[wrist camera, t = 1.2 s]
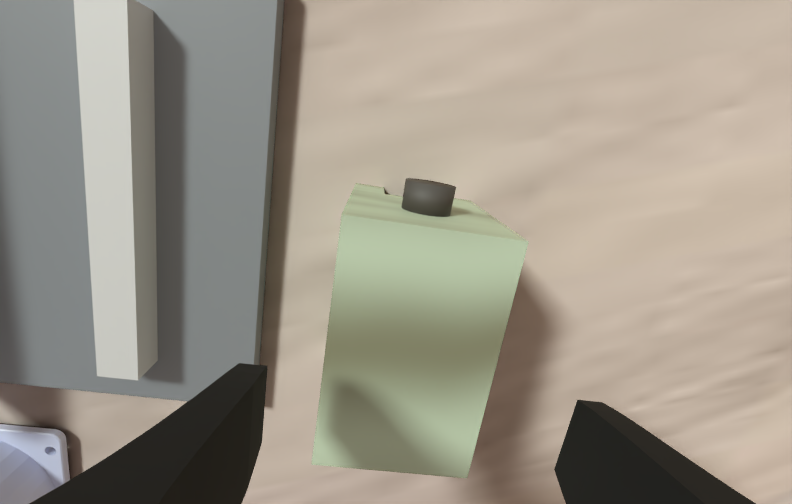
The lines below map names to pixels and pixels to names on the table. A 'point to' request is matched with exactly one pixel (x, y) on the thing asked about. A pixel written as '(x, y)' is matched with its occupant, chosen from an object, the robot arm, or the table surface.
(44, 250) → the board
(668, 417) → the table surface
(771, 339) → the table surface
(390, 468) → the block
